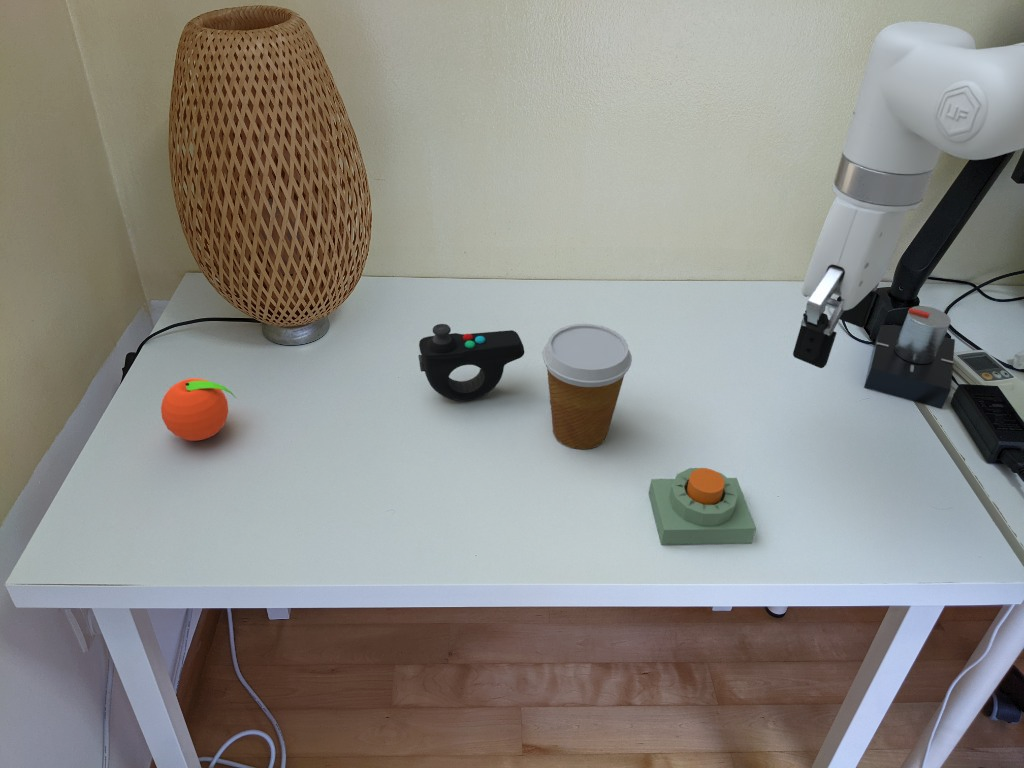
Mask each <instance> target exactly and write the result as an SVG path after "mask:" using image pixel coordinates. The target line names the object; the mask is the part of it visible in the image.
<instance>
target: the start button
mask: <svg viewBox="0 0 1024 768" xmlns="http://www.w3.org/2000/svg"><path fill="white" fill-rule="evenodd" d="M700 468H701V469H697V470H695V471H693V472H692V473H691V474H690V477H689V482H688V487H687V493H688V495H689V497H690V498H691V499H692V500H693V501H695V502H698V503H701V504H703V505H713V504H716V503H717V502H719V501H720V500H721V497H722V494H723V490H724V486H725V481H724V479H723V477H722V476H721V475H720V474H719V473H720V472H719V471H716V470H713V469H711V468H707V467H700ZM706 468H707V469H706ZM718 472H719V473H718Z"/></svg>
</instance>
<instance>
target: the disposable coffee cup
mask: <svg viewBox="0 0 1024 768" xmlns="http://www.w3.org/2000/svg"><path fill="white" fill-rule="evenodd" d="M542 359H543V363H544V365H545V368H546V371H547V381H548V383H547V384H548V393H549V402H550V403H549V404H550V411H551V412H550V415H551V423H552V433H553V436H554V438H555V439H556V441H558V442H559V443H560V444H562V445H563V446H566V447H568V448H570V449H575V450H590V449H595V448H596V447H597V448H598V447H599V446H601V445H602V444H603V443H605V441H606V439H607V437H608V435H609V434H608V433H609V430H610V426H611V423H612V419H613V416H614V413H615V409H616V406H617V403H618V399H619V396H620V392H621V389H622V385H623V381H624V378H625V375H626V374H627V372H628V371H629V369H630V368H631V366H632V361H633V357H632V353H631V351H630V348H629V344H628V342H627V340H626V339H625V338H624V337H623V336H622V335H621V334H620V333H618V332H617V331H616V330H613V329H611V328H609V327H607V326H606V327H605V326H604V325H599V324H592V323H575V324H570V325H565V326H562V327H560V328H558V329H556V330H555V331H554V332H552V334H551V335H550V336H549V338H548V341H547V342H546V344H545V345H544V347H543V348H542Z"/></svg>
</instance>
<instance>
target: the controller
mask: <svg viewBox="0 0 1024 768" xmlns="http://www.w3.org/2000/svg"><path fill="white" fill-rule="evenodd" d="M451 331H452V329H451V327H450V325H448V324H445V323H438V324H436V325H434V326H433V327H432V333H433V334H434V335H429V336H425V337H422V338H421V339H420V340H419V342H418V347H419V353H420V354H418V361H419V362H418V363H419V369H420V372H421V373H422V372H424V374H425V377H426V379H427V381H428V383H429V385H430V387H431V388H432V389H433V390H434V391H435V392H436V393H438V394H439V395H440V396H442V397H444V398H447V399H450V400H455V401H471V400H475V399H479V398H481V397H483V396H485V395H487V394H488V393H490V392H491V391H492V390H494V389H495V388H496V387H497V385H498V384H499V383H500V381H501V379H502V377H503V374H504V369H505V366H506V365H507V364H509V363H512V362H514V361H516V360H518V359H521V358H523V356H524V355H525V347H524V344H523V341H522V339H521V337H520V335H519V334H518V332H517V331H515V330H514V329H512V330H511V329H510V330H497V331H487V332H486V331H484V332H475V333H472V332H471V333H457V332H454V333H451ZM463 366H474V367H477V368H479V372H478V373H477V374H476V375H475V376H474V377H472V378H471V379H468V380H463V381H462V380H461V381H460V380H455V379H453V378H451V377H450V376H451V373H452V372H453V371H455V370H456V369H458V368H460V367H463Z"/></svg>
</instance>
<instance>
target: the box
mask: <svg viewBox="0 0 1024 768" xmlns="http://www.w3.org/2000/svg"><path fill="white" fill-rule="evenodd" d="M701 468H702V467H689V468H687V469H685V470H683V471H680V472H679V473H677V474H676V475H675V477H674V478H651V480H650V484H649V490H648V497H649V502H650V506H651V509H652V514H653V518H654V521H655V525H656V529H657V533H658V537H659V542H660V545H661V546H673V545H674V546H675V545H680V546H681V545H726V544H727V545H729V544H731V545H732V544H735V545H736V544H752V542H753V539H754V536H755V533H756V529H757V528H756V525H755V522H754V520H753V517H752V515H751V511H750V509H749V506H748V504H747V501H746V499H745V496H744V494H743V491H742V488H741V486H740V483H739V480H738V478H737V477H727V476H726V475H724V474H723V473H721V472H719V471H717V472H718V473H719V474H720V475H721V476H722V477H723V479H724V481H725V486H724V490H723V494H722V497H721V500H720V501H719V502H717V503H716V504H713V505H703V504H701V503H698V502H695V501H693V500H692V499H691V498H690V497H689V495H688V493H687V487H688V482H689V477H690V474H691V473H692V472H693V471H695V470H697V469H701ZM705 468H706V469H708V468H707V467H705Z"/></svg>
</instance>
